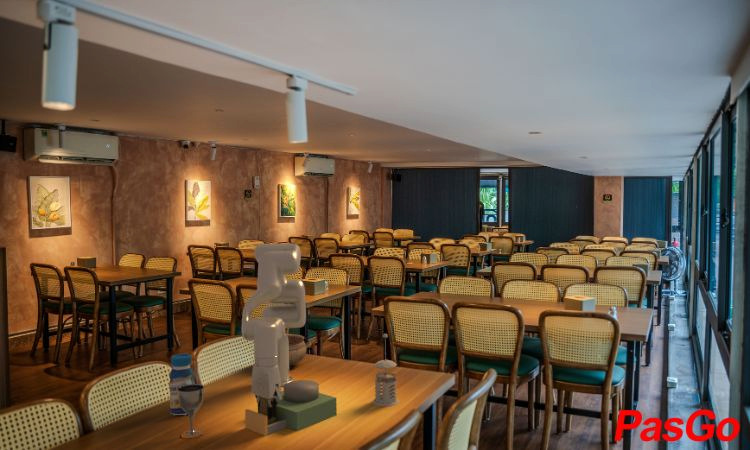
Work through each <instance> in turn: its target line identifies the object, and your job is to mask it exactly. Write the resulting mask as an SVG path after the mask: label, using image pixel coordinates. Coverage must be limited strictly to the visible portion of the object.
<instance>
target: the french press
mask: <svg viewBox="0 0 750 450" xmlns="http://www.w3.org/2000/svg"><path fill="white" fill-rule="evenodd" d="M388 337H389V336H388V334H387V333H384V334H382V338H384V356H385V357H384V358H385V359H382V360H378V361H377V362H375V363H374V367H375V368H377V369H380V370H381V369H383V370H384V371H385V372H384V371H382V372H380V370H379V371H377V373H376V374H375V377H376V378H375V379H374V381H375V382H374V386H375V387H374V389H375V390H374V393H375V394H374V396H375V398H374V399H372V400H373V401H372V404H373V405H375V406H379V407H393V406H396V405H398V404H399V403H400V401H399V399H398V398H397V378H396V374H395V373H391V372H387V370H388V369H393V368H395V367H396V366H397V364H398V363H396V361H395V362H394V361H393V360H389V359H387V357H386V355H387V352H386V351H387V350H386V349H387V348H386V347H387V345H386V339H387V338H388Z"/></svg>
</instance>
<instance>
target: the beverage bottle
mask: <svg viewBox="0 0 750 450" xmlns="http://www.w3.org/2000/svg"><path fill="white" fill-rule="evenodd" d="M170 364H171V367H172V369H171V370H170V372H169V375H168V377H169V382H168V386H169V412H170V414H171V415H172V414H173V415H172V416H175V415H184V416H187V413H186V412H185V411H184V410H183V409H182V408H181V407H180V404H179V400H178V388H179V387H181V386H183V385H188V384H195V378H194V376H195V373H194V370H193V368H192V367H191V365H192V355H191V354H190V353H177V354H174V355H171V358H170Z"/></svg>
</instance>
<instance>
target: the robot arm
mask: <svg viewBox="0 0 750 450" xmlns="http://www.w3.org/2000/svg"><path fill="white" fill-rule="evenodd" d="M301 251H302V250H301V248H300V246H299V245H298V243H264V244H263V243H260V244H258V245H256V246H255V248H254V251H253V253H254V254H253V255H254V258H255V261H256V262H257V263H258V265H257V266H258V267H257V283H256V284H257V285H256V291H255V292H254V293H252V295H251V296H250V297H249V298H248V299H247V301H246V302H245V304H244V307H243V310H242V318H241V336H242V338H243V340H246V341H253V354H254V358H253V359H254V364H252V369H251V370H252V371H251V380H250V381H251V382H250V383H251V388H250V390H251V393H252V394H253V395H254V397H255V398H256V404H257V413H259V409H260V399H259V396H260V397H263V398H266V399H268V404H269V407H268V408H267V412H268V419H271V418H272V417H274V418H275V417H276V405H278V402H279V401H281V400H282V396H281V391H282V387H284V385H285V384H286V383H289V382H292V381H294V378H293V376H291V375H290V367H289V340H288V337H287V335H286V334H287V333H286V329H298V328H302V327H304V326H305V324H306V321H307V308H306V307H307V306H306V305H307V304H306V287H305V283H304V282H303V281H302V280H300V279H290V278H289V279H288V278H286V275H295V274H297V273H298V272H299V269H300V267H301V266H300V265H301V259H302V252H301ZM265 303H269V304H270V305H266V306H265V307H263V309H262V311H261V317H252V314H253V312H254V311H255V309H257V308H258V307H260V306H261V305H264V304H265ZM271 399H273V401H272V400H271ZM258 403H259V404H258Z"/></svg>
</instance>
